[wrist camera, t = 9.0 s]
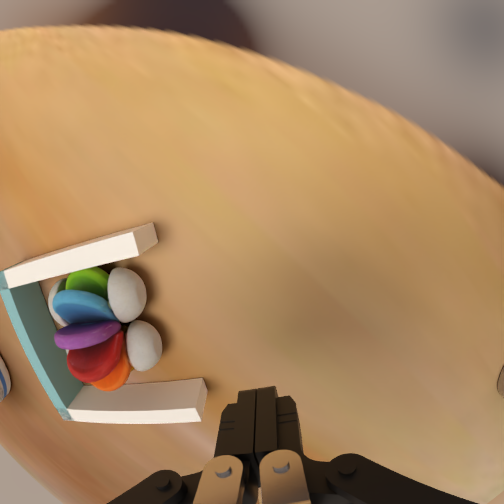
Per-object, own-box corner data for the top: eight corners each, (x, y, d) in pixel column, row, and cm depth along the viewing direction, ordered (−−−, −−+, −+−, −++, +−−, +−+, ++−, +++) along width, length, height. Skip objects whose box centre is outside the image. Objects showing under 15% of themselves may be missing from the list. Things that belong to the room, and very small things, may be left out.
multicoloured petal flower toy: (92, 362, 25) (56, 408, 18) (58, 264, 22) (5, 293, 15) (173, 359, 24) (150, 416, 17) (142, 248, 22) (98, 278, 15)
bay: (153, 222, 21) (132, 231, 17) (207, 390, 25) (201, 421, 21) (21, 261, 22) (-6, 274, 18) (79, 396, 26) (63, 419, 22)
